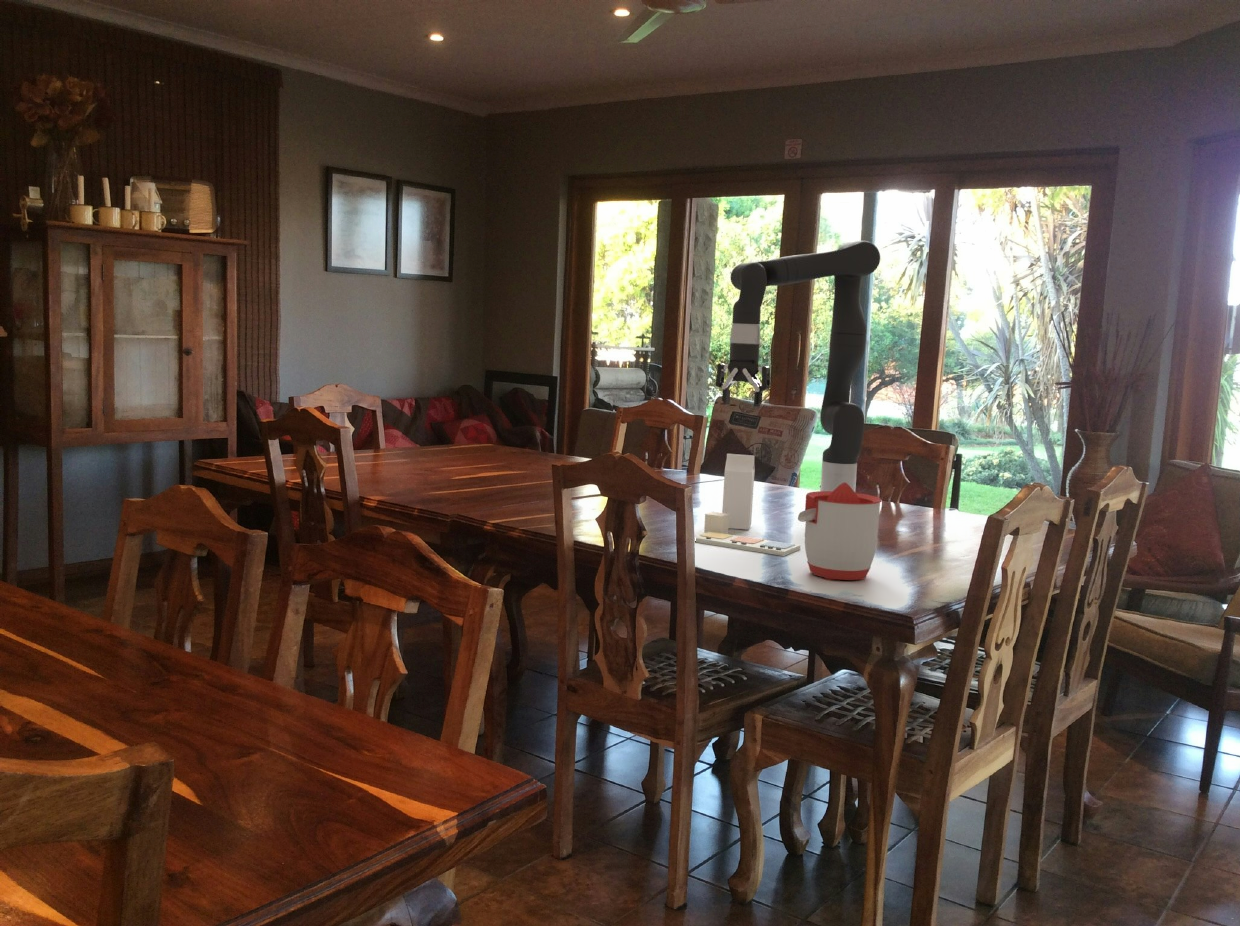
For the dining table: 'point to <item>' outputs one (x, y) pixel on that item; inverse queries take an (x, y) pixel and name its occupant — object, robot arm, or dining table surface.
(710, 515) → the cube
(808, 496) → the citrus juicer
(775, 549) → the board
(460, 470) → the dining table surface
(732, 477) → the milk carton
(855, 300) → the robot arm
